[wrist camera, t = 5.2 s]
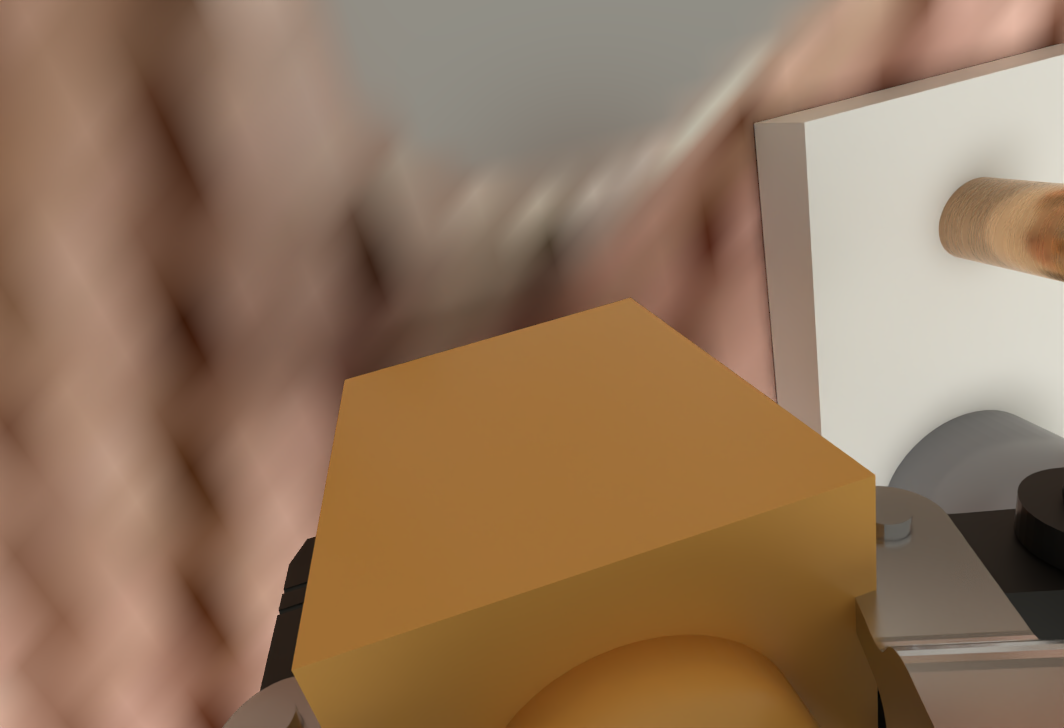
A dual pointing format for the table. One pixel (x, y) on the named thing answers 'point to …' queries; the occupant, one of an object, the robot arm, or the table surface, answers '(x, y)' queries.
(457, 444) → the domed tan cube
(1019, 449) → the capped post
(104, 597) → the table surface
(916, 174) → the white rectangular plate
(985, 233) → the copper post
